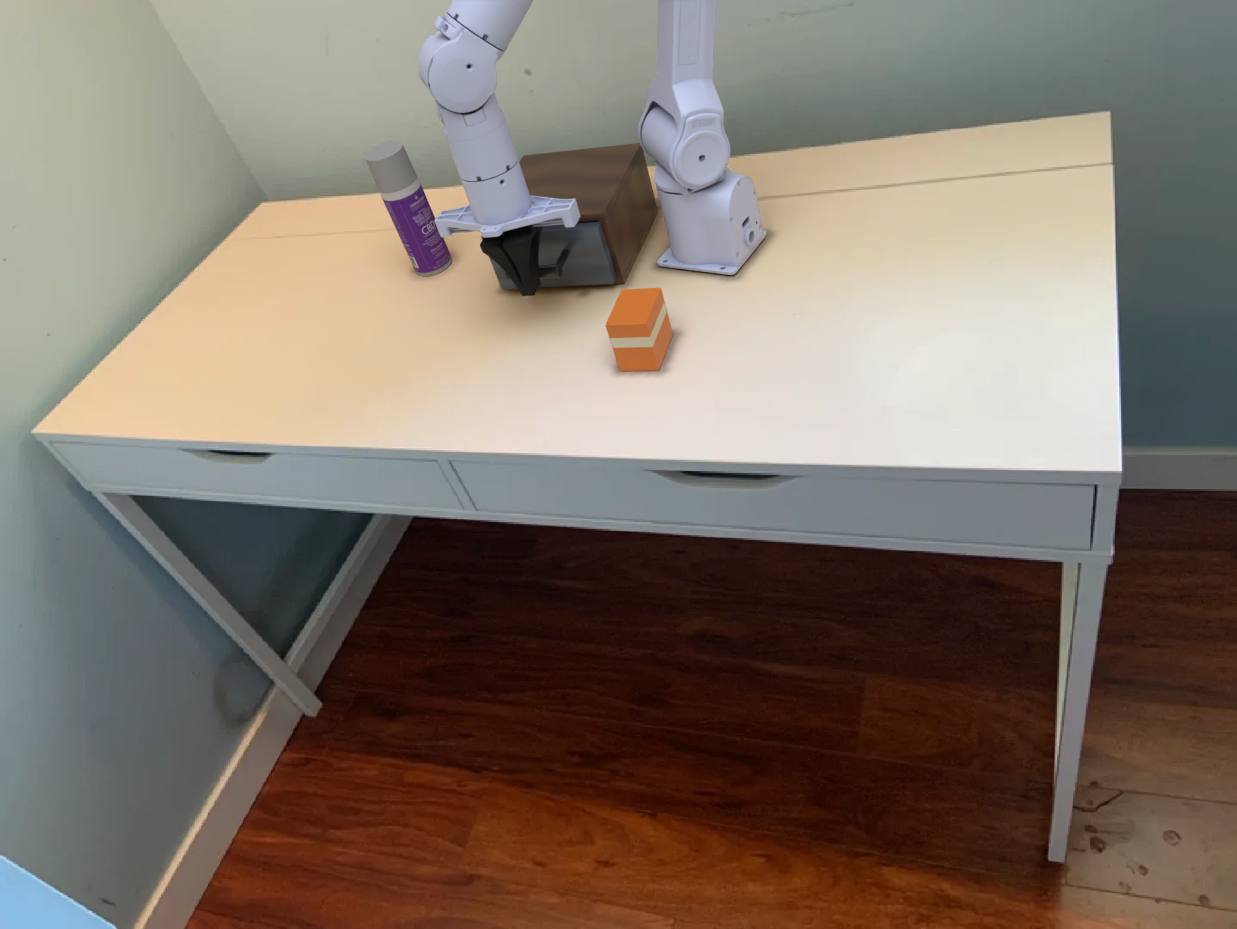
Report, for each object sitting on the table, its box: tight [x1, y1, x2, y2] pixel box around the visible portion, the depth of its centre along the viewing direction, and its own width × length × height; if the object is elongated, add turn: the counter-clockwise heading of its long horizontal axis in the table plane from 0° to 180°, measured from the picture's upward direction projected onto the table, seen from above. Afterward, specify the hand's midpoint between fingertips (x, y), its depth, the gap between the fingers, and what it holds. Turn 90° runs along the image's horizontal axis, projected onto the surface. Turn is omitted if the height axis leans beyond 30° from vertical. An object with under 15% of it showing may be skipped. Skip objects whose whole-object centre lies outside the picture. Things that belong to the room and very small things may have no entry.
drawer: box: [480, 220, 617, 290], centre depth 104 cm, size 18×13×7 cm
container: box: [364, 140, 453, 277], centre depth 111 cm, size 5×5×15 cm
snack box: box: [605, 287, 674, 372], centre depth 91 cm, size 6×4×6 cm
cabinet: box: [502, 142, 659, 291], centre depth 107 cm, size 15×15×9 cm
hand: (531, 290), depth 98 cm, fingers closed, pressing on drawer
